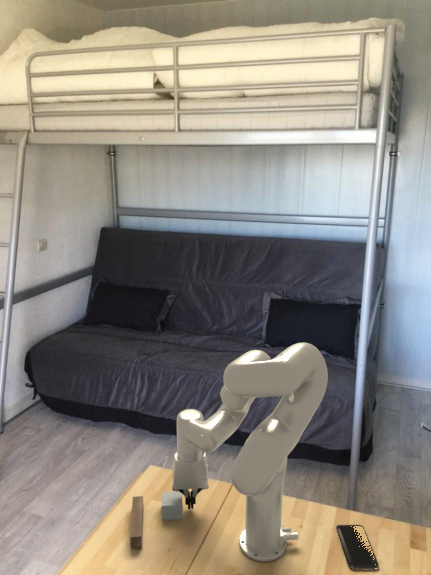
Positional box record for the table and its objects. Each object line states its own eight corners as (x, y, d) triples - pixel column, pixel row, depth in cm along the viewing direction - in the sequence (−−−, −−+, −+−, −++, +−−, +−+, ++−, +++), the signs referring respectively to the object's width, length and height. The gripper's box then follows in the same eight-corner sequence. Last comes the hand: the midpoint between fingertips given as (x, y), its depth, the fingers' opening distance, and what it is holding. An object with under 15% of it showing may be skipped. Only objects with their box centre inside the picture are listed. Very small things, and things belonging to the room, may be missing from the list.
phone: (349, 567, 127) (335, 524, 141) (349, 571, 127) (335, 528, 141) (380, 567, 127) (363, 524, 141) (379, 571, 127) (362, 527, 141)
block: (182, 505, 150) (181, 490, 149) (182, 519, 144) (182, 504, 143) (162, 506, 149) (161, 492, 148) (162, 520, 144) (161, 506, 142)
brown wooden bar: (143, 507, 149) (142, 496, 148) (142, 548, 133) (141, 536, 132) (133, 508, 148) (132, 496, 147) (130, 549, 133) (130, 537, 132)
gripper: (214, 443, 146) (214, 495, 151) (163, 445, 145) (164, 498, 150) (217, 458, 139) (216, 513, 144) (164, 461, 138) (165, 516, 143)
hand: (190, 505), depth 147 cm, fingers closed
